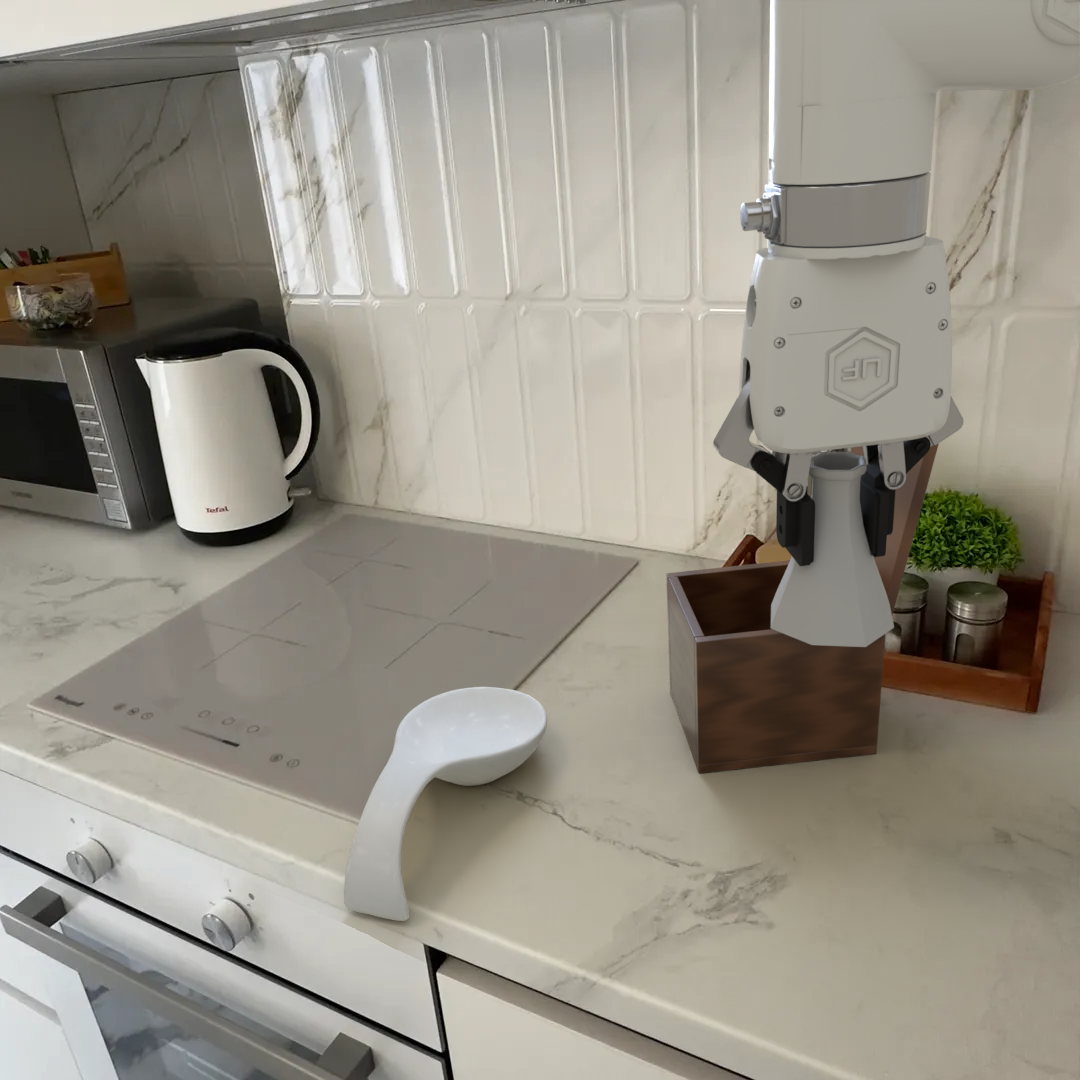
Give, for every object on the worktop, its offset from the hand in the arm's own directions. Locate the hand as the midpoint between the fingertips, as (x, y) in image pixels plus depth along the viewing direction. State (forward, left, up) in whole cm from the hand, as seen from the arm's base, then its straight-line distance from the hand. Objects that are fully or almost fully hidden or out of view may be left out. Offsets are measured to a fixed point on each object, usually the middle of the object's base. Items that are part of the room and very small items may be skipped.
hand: (833, 548), depth 56 cm
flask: (0, 0, -5) cm, 5 cm away
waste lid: (-9, -17, -4) cm, 20 cm away
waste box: (-1, -17, -24) cm, 30 cm away
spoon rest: (+25, -11, -24) cm, 36 cm away
